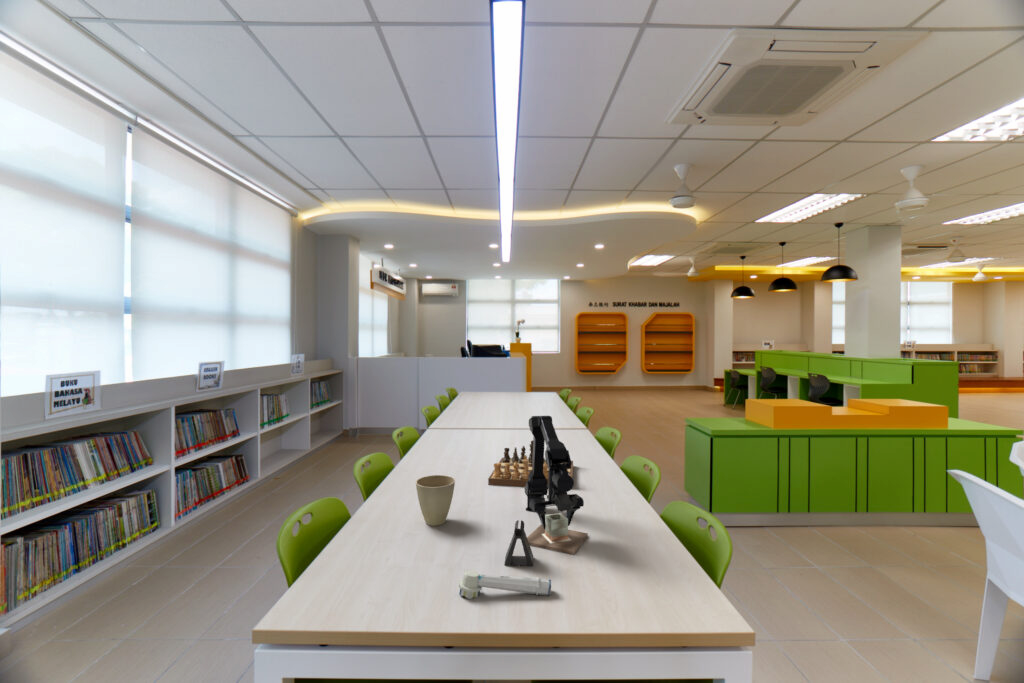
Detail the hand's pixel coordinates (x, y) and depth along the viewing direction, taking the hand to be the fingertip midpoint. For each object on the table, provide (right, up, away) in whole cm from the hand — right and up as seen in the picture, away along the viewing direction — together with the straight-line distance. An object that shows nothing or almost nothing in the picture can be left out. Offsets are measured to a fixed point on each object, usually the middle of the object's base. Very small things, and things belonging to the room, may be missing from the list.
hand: (556, 527), depth 162 cm
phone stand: (-13, -5, -16) cm, 21 cm away
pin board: (0, -5, 0) cm, 4 cm away
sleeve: (0, -3, 0) cm, 3 cm away
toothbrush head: (-17, -5, -34) cm, 39 cm away
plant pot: (-45, -4, +15) cm, 48 cm away
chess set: (-4, -5, +77) cm, 78 cm away
